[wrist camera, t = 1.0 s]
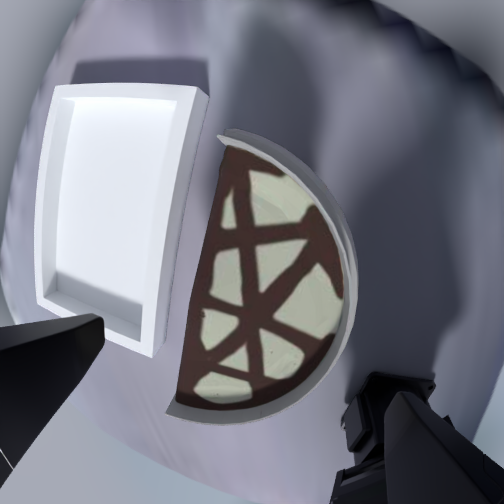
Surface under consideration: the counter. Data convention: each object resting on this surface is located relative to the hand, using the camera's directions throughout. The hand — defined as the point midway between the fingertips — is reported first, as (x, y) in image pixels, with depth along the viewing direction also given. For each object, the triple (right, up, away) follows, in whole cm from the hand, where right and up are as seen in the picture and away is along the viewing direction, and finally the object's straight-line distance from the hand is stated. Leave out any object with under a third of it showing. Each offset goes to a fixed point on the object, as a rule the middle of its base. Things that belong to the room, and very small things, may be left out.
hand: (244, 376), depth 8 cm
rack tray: (-10, +6, +12) cm, 17 cm away
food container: (+2, +3, +12) cm, 12 cm away
